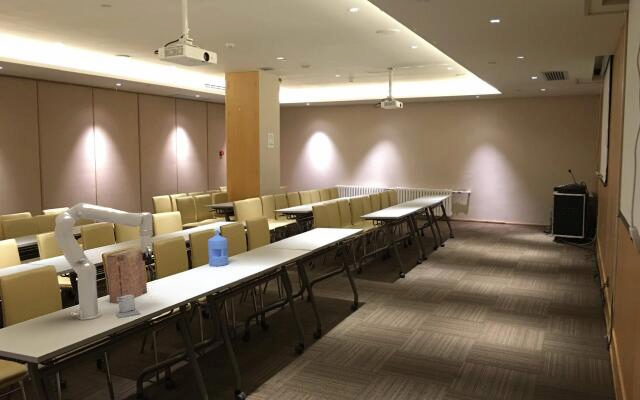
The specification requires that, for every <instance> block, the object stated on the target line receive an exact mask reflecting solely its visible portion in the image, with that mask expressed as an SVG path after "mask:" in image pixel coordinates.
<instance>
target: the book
mask: <svg viewBox="0 0 640 400" xmlns="http://www.w3.org/2000/svg"><path fill="white" fill-rule="evenodd" d="M106 266H107V267H106V269H107V279H108V281H107V282H108V284H107V285H108V293H109V295H108V296H109V297H108V298H109V303H110V304H112V303H113V304H118V297H122V296H126V295H134V299H136V298H138V297H141V296H143V295H146V294H147V293H148V290H147V289H148V287H147V285H148V284H147V274H146V273H147V272H146V260H145V261H143V260H142V252H141V251H140V248H133V247H128V248H125V249H122V250H118V251H115V252H112V253H108V254H106Z"/></svg>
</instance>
